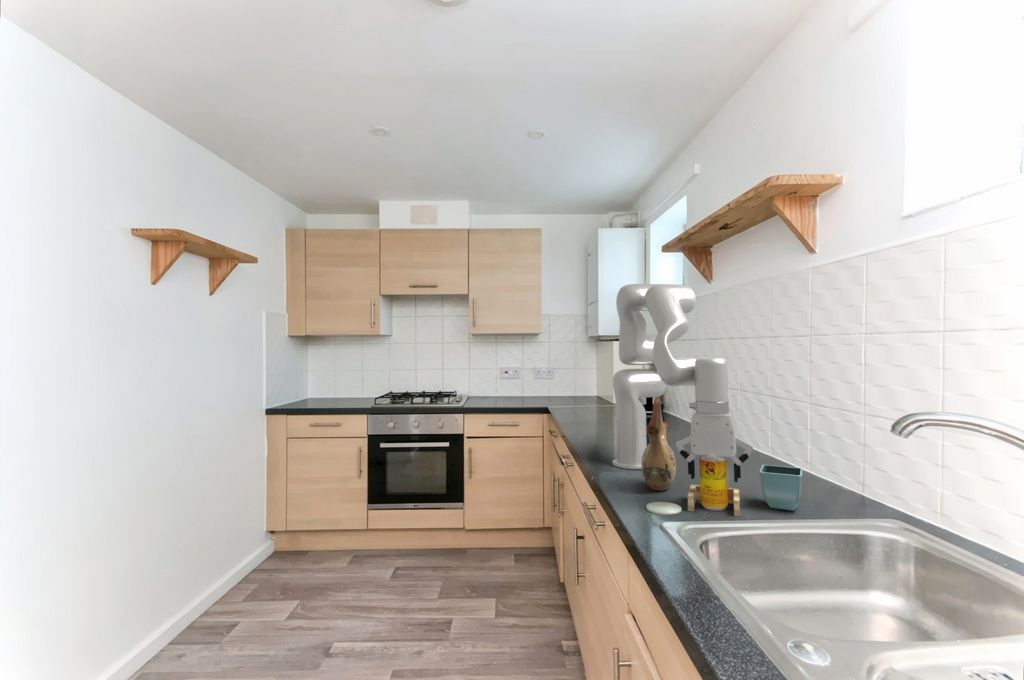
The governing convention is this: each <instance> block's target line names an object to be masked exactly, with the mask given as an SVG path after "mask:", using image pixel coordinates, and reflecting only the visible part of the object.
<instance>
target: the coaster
mask: <svg viewBox="0 0 1024 680" xmlns="http://www.w3.org/2000/svg"><path fill="white" fill-rule="evenodd" d="M646 510H647V511H648V512H650V513H652V514H655V515H661V516H673V515H674V516H675V515H679V514H681V513H682V507H681V505H679V504H677V503H672V502H666V501H653V502H649V503H647V504H646Z"/></svg>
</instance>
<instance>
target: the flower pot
mask: <svg viewBox="0 0 1024 680" xmlns="http://www.w3.org/2000/svg"><path fill="white" fill-rule="evenodd" d="M759 477H760V478H759V479H760V485H761V491H762V495H763V498H764V500H765V502H766V504H767V505H768V507H769V508H771V509H776V510H777V509H778V510H786V511H795V510H796V508H797V506H798V504H799V502H800V499H801V493H802V479H803V468H801V467H796V466H795V467H793V466H782V465H773V464H771V465H770V464H761V467H760V469H759Z"/></svg>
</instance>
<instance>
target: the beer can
mask: <svg viewBox="0 0 1024 680" xmlns="http://www.w3.org/2000/svg"><path fill="white" fill-rule="evenodd" d="M727 459H728V458H724V457H718V456H715V452H710V456H699V485H700V499H701V500H700V504H701V505H702V508H704V509H706V510H709V511H718V512H719V511H725V510H726V508H727V507H728V504H729V503H728V496H727V488H728V464H727V463H728V461H727Z"/></svg>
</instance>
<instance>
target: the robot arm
mask: <svg viewBox="0 0 1024 680" xmlns="http://www.w3.org/2000/svg"><path fill="white" fill-rule="evenodd" d="M615 299H616V302H615V303H616V311H617V315H618V319H619V330H618V331H619V332H618V333H619V334H618V337H619V338H618V358H619V361H620V362H621V364H623V365H625V366H626V365H627V366H645V365H646V366H648V368H624V369H621V370H618V371H617V372H615V374H614V375H613V377H612V387H613V393H614V398H615V412H616V415H615V416H616V457H617V458H615V459H613V460H612V465H613V466H614V467H617V468H619V469H620V468H621V469H625V470H627V469H628V470H642V468H641V461H642V456H643V452H644V450H645V448H646V447H647V446H648V444H647V443H648V442H647V413H646V412H647V411H646V409H645V407H644V405H643V403H642V402H641V400H640V399H641V398H659V397H660V396H661V397H662V395H664V394H665V392H666V390H667V386H670V387H688V386H690V387H692V386H693V387H694V392H695V393H694V398H695V401H694V402H690V403H689V404H688V405H689V406H688V408H689V409H692V410H694V411H695V412H693V413H692V415H691V420H690V436H687V437H684V438H682V439H681V440H679V441H676V443H675V447H676V449H677V450H678V453H679V454H680V455H681V456H682V457H683V458H684V459H685V460H686V462H687V475H690V479H691V480H694V479H695V477H696V472H695V471H696V470H695V468H696V467H695V466H696V464H695V463H696V462H695V461H696V460H695V458H696V457H697V456H698V457H700V456H710V452H715V456H718V457H724V458H727V459H728V458H730V459H731V460H732V461H733V462H734V463H733V476H734V477H733V480H734V481H733V482H734V483H738V481H739V480H738V479H741V477H742V474H741V471H742V470H741V466H742V464H743V463H744V462H746V461H747V460H748V459H749V457H750V456H751V453H752V452H753V450H754V447H753V446H752V445H751V444H748V443H747V442H745V441H743V440H741V439H738V438H737V436H736V435H737V434H736V425H735V421H734V416H733V414H732V413H730V405H729V404H730V403H729V401H730V398H729V371H728V370H729V367H728V361H727V360H726V359H725V358H724V357H719V356H718V357H714V356H713V357H710V356H700V355H699V356H693V355H692V356H689V355H688V356H672V353H671V351H670V350H669V349H670V348H669V347H668V344H670V343H672V342H675V341H677V340H678V339H680V338H682V337H683V336H684V335H685V334H686V333H687V332H688V331H689V328H690V322H689V320H688V318H687V316H686V314H688V313H691V312H692V311H693V310H695V308H696V306H697V305H696V304H697V296H696V293H695V291H694V290H693V288H691V287H690V286H689V285H686V284H669V283H668V284H667V283H665V284H664V283H663V284H662V283H631V284H626V285H623V286H622V287H620V288H619V289H618V292H617V294H616V298H615ZM642 312H649V315H650V317H651V319H652V321H653V324H654V327H655V329H656V331H657V333H658V334H657V335H647V321H646V318H645V317H644V315H643V313H642ZM688 444H689V445H690V446H689V447H690V453H689V452H688V451H686V450H685V447H684V446H685V445H688ZM737 446H738V447H740V448H742V449H744V452H743V453H742V454H741V455H740V456H738V454H737Z"/></svg>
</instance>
